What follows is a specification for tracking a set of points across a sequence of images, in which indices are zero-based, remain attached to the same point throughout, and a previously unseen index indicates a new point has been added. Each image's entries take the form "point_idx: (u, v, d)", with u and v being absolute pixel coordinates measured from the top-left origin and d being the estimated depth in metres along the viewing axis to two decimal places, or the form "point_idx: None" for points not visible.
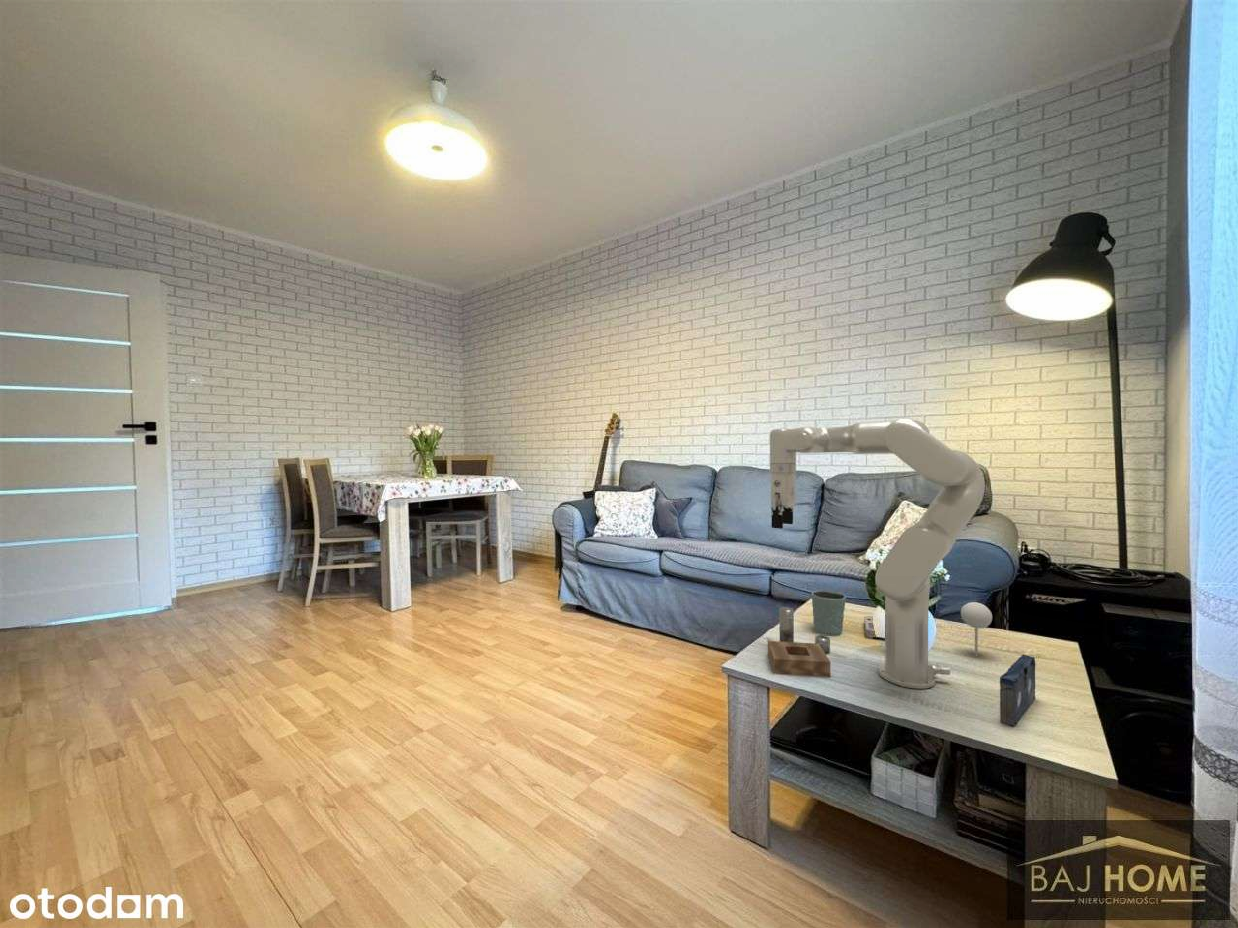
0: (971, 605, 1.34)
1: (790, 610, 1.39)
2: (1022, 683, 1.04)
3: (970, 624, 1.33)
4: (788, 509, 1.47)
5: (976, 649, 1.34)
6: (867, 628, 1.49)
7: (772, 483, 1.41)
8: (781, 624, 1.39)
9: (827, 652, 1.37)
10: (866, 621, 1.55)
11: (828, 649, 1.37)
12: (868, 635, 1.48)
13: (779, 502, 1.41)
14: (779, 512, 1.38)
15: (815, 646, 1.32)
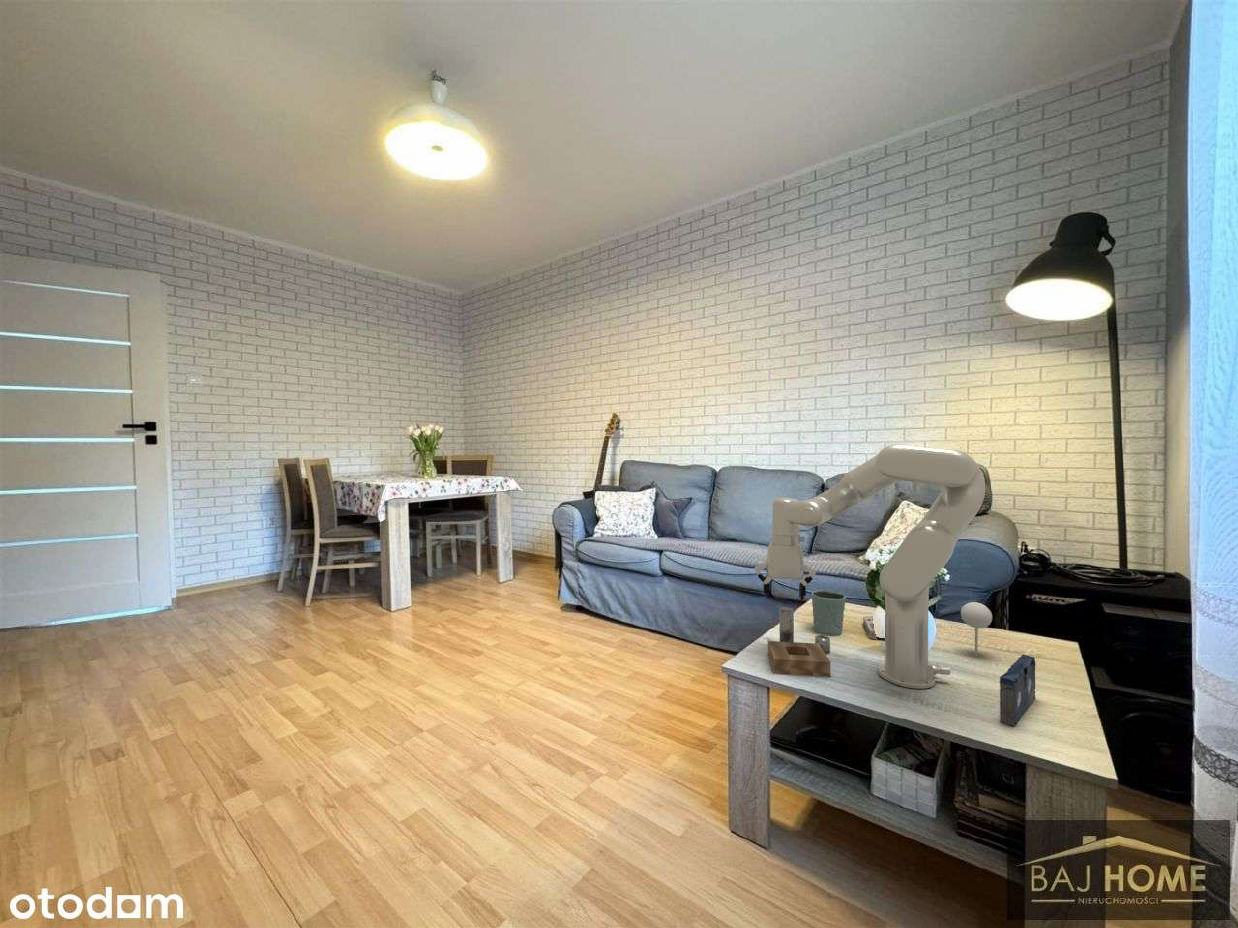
0: (971, 605, 1.34)
1: (790, 610, 1.39)
2: (1022, 683, 1.04)
3: (970, 624, 1.33)
4: None
5: (976, 649, 1.34)
6: (870, 629, 1.48)
7: (802, 555, 1.38)
8: (781, 624, 1.39)
9: (827, 652, 1.37)
10: (867, 622, 1.54)
11: (828, 649, 1.37)
12: (872, 636, 1.47)
13: None
14: None
15: (815, 646, 1.32)
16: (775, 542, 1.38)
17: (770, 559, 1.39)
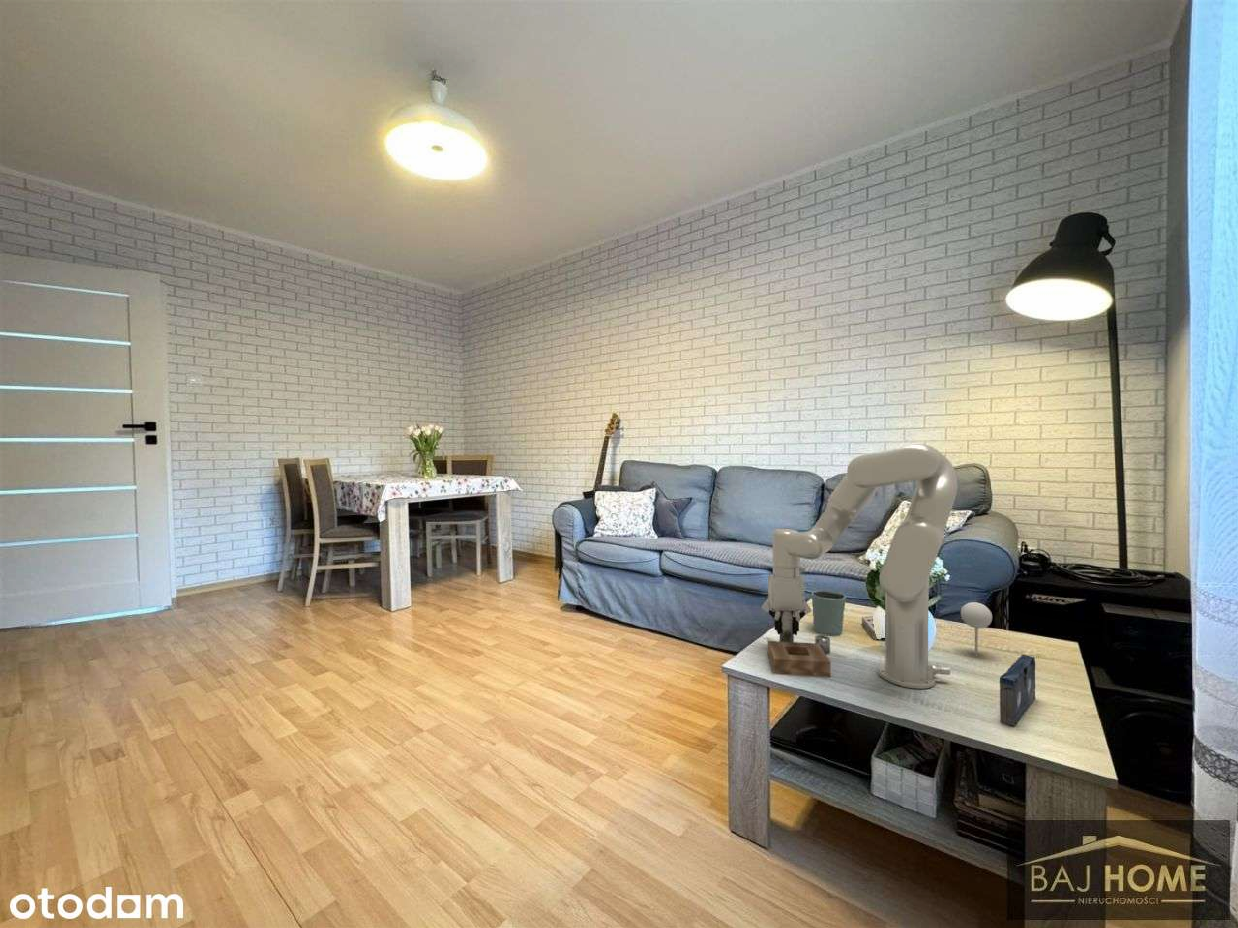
0: (971, 605, 1.34)
1: None
2: (1022, 683, 1.04)
3: (970, 624, 1.33)
4: None
5: (976, 649, 1.34)
6: (874, 630, 1.47)
7: (803, 586, 1.38)
8: (781, 624, 1.39)
9: (827, 652, 1.37)
10: (868, 622, 1.54)
11: (828, 649, 1.37)
12: (876, 637, 1.46)
13: None
14: None
15: (815, 646, 1.32)
16: (776, 574, 1.38)
17: (771, 591, 1.39)
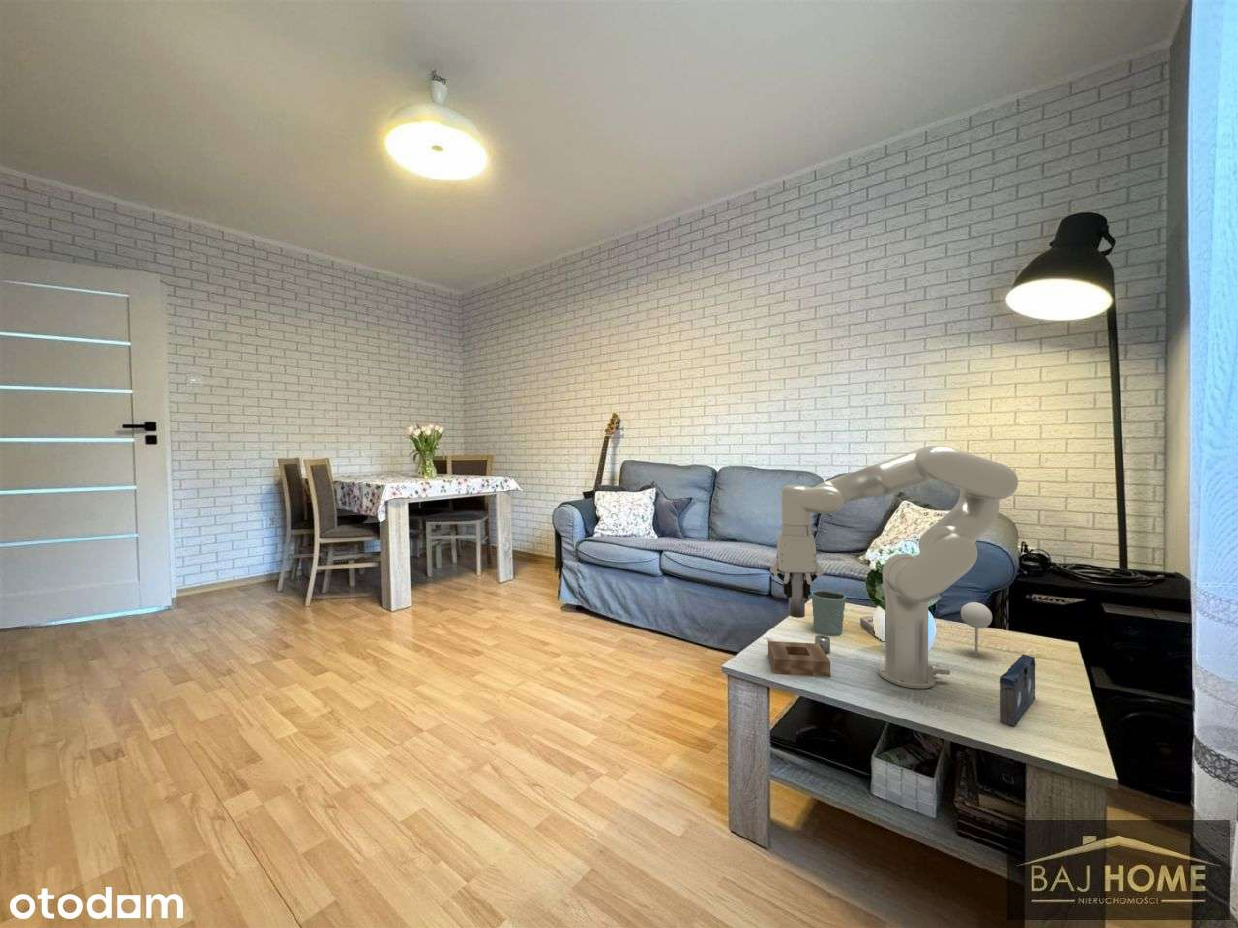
0: (971, 605, 1.34)
1: None
2: (1022, 683, 1.04)
3: (970, 624, 1.33)
4: None
5: (976, 649, 1.34)
6: None
7: (815, 546, 1.27)
8: (791, 587, 1.29)
9: (827, 652, 1.37)
10: (870, 623, 1.53)
11: (828, 649, 1.37)
12: None
13: None
14: None
15: (815, 646, 1.32)
16: (785, 533, 1.28)
17: (780, 552, 1.28)
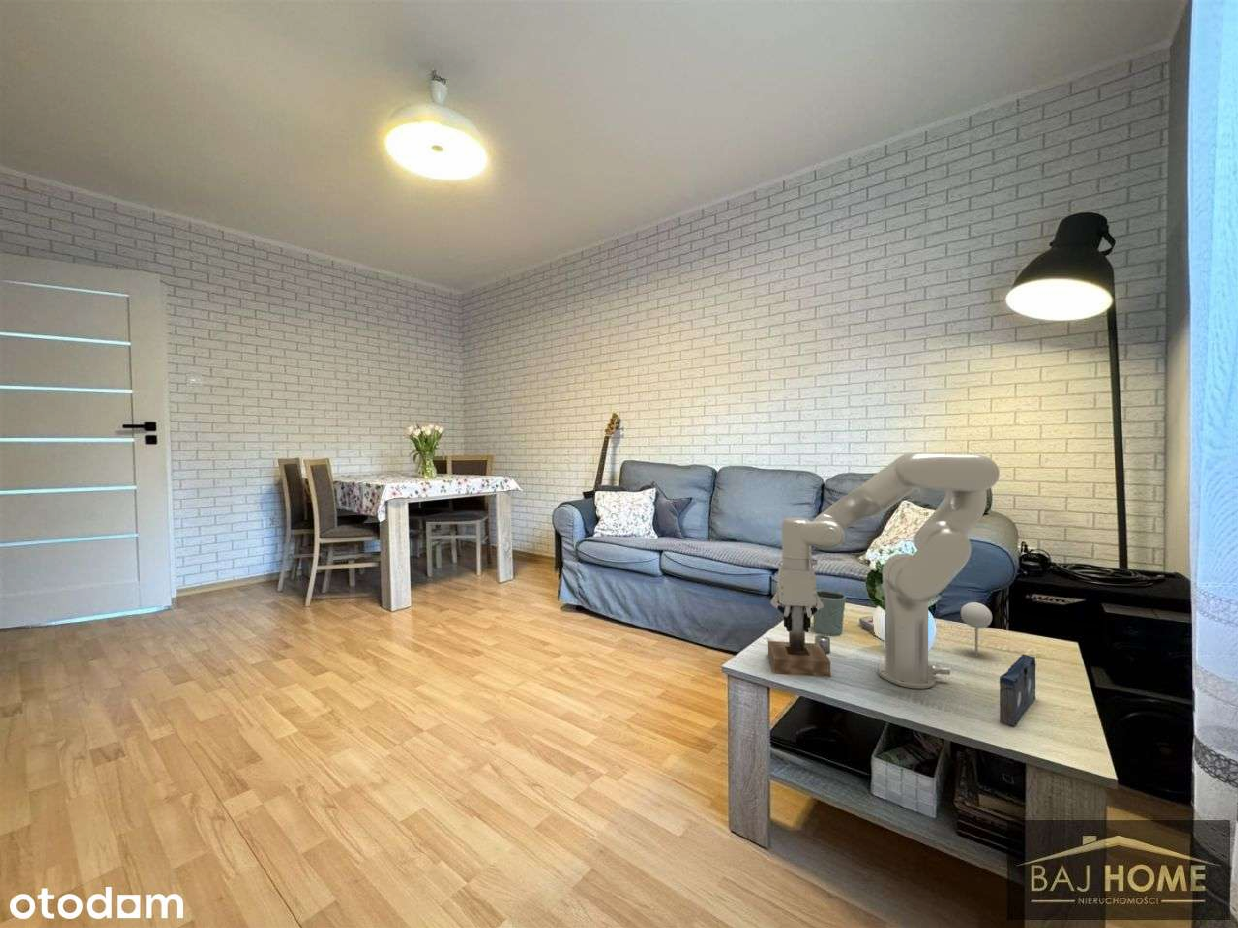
0: (971, 605, 1.34)
1: None
2: (1022, 683, 1.04)
3: (970, 624, 1.33)
4: None
5: (976, 649, 1.34)
6: None
7: (815, 580, 1.27)
8: (791, 620, 1.29)
9: (827, 652, 1.37)
10: (871, 624, 1.52)
11: (828, 649, 1.37)
12: None
13: None
14: None
15: (815, 646, 1.32)
16: (786, 566, 1.28)
17: (781, 585, 1.28)
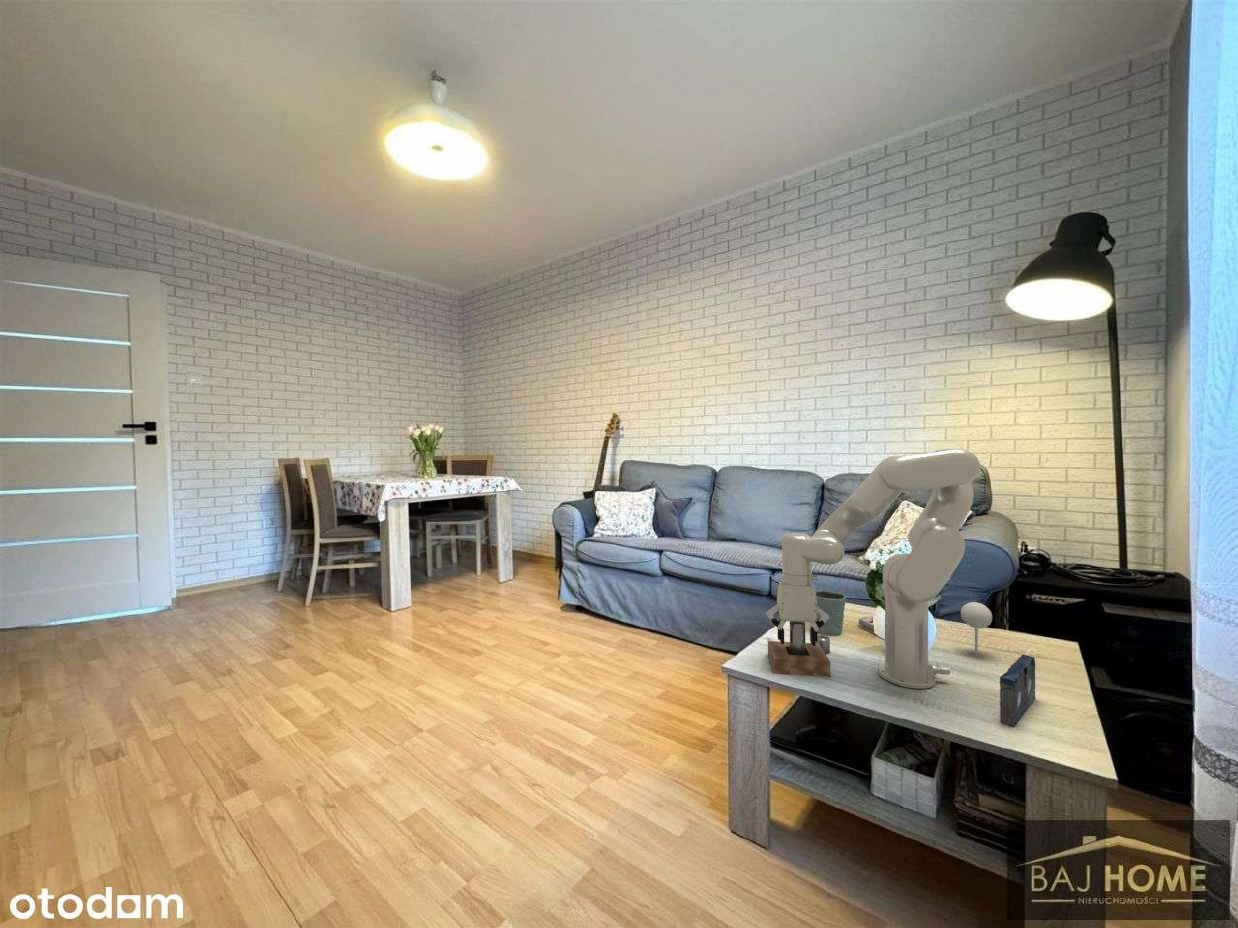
0: (971, 605, 1.34)
1: (801, 623, 1.28)
2: (1022, 683, 1.04)
3: (970, 624, 1.33)
4: None
5: (976, 649, 1.34)
6: None
7: (815, 595, 1.27)
8: (792, 638, 1.29)
9: (827, 652, 1.37)
10: (873, 624, 1.52)
11: (828, 649, 1.37)
12: None
13: None
14: None
15: (815, 646, 1.32)
16: (786, 582, 1.28)
17: (781, 600, 1.28)
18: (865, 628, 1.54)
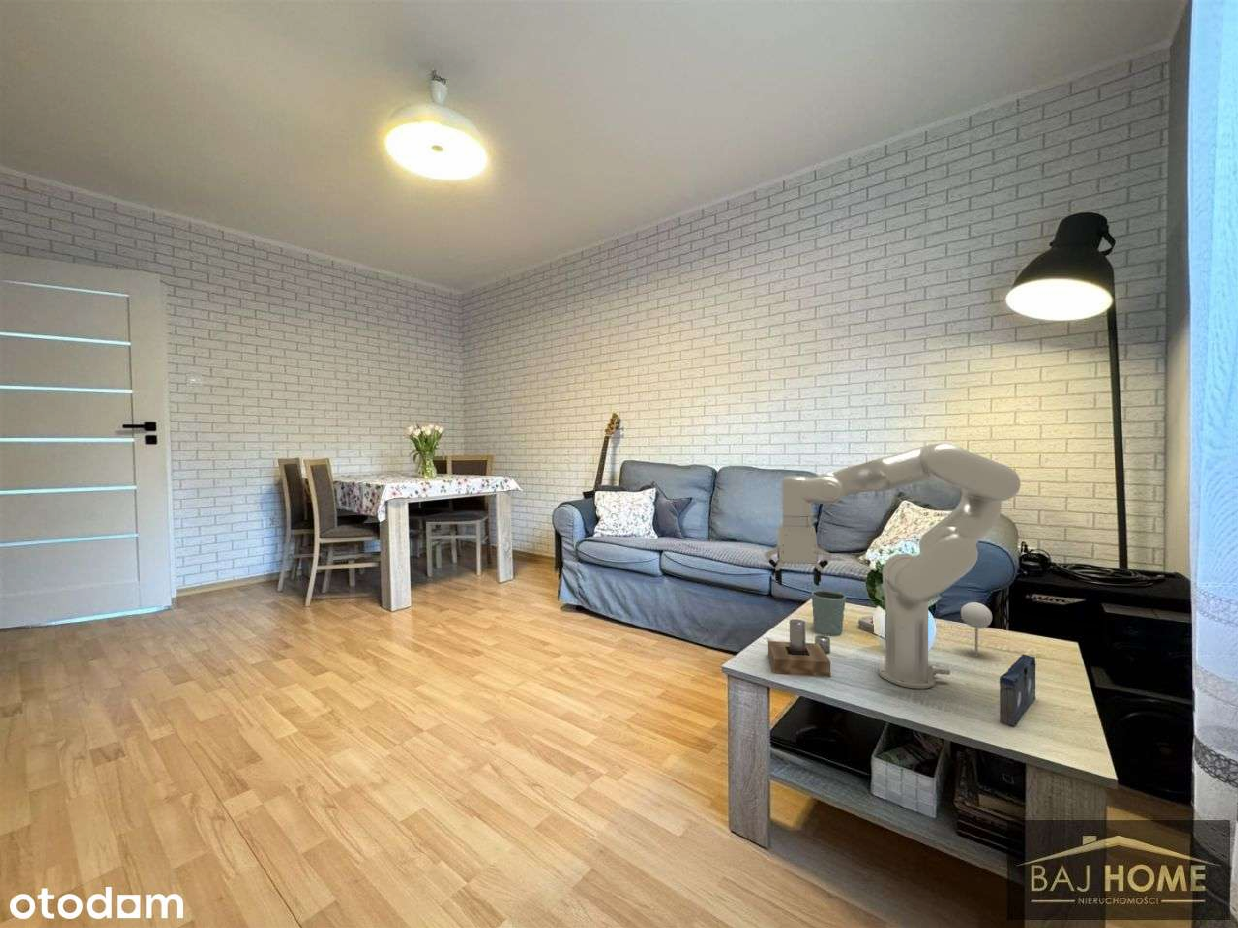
0: (971, 605, 1.34)
1: (801, 623, 1.28)
2: (1022, 683, 1.04)
3: (970, 624, 1.33)
4: None
5: (976, 649, 1.34)
6: None
7: None
8: (792, 638, 1.29)
9: (827, 652, 1.37)
10: None
11: (828, 649, 1.37)
12: None
13: None
14: None
15: (815, 646, 1.32)
16: (786, 524, 1.28)
17: (781, 543, 1.28)
18: (866, 629, 1.54)
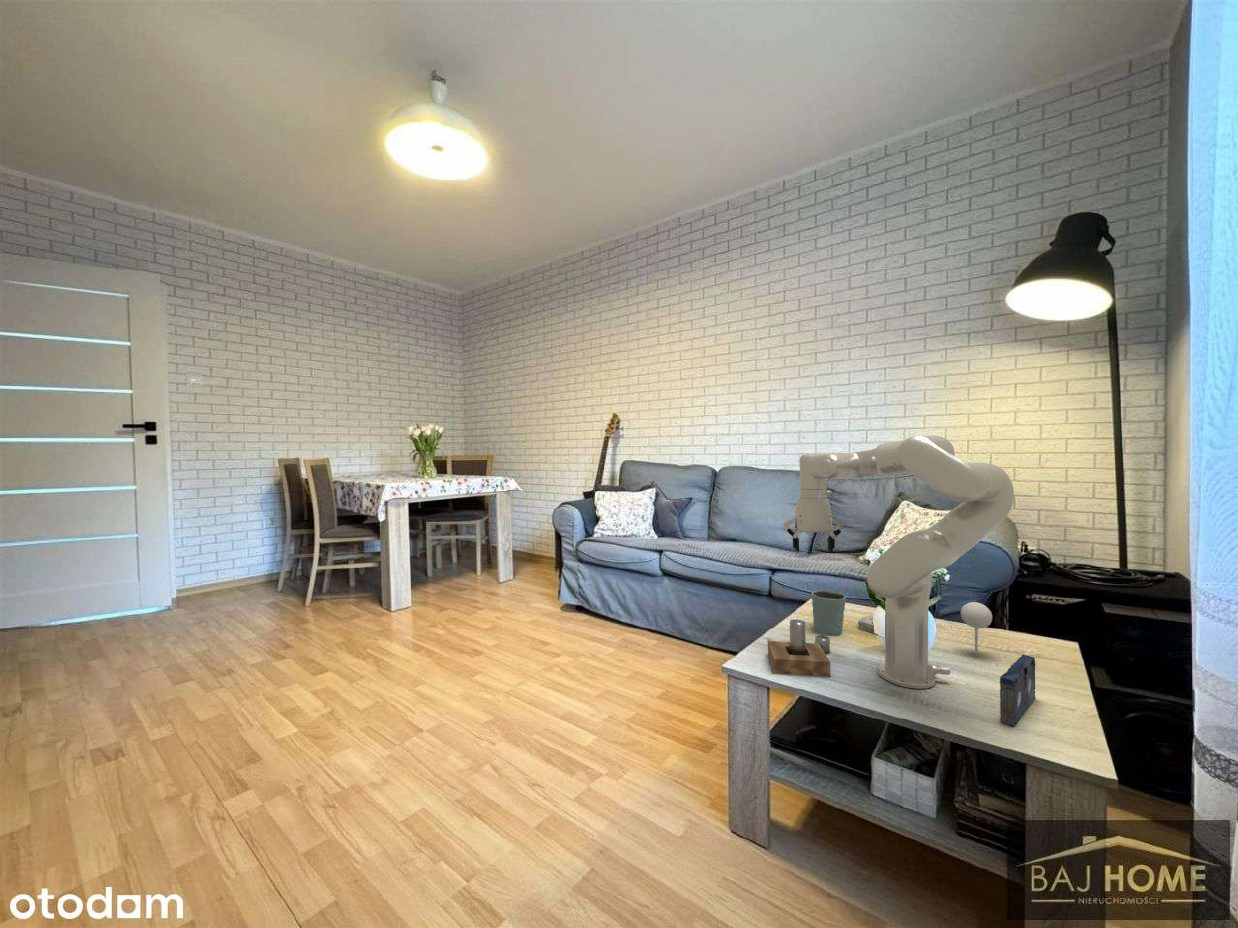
0: (971, 605, 1.34)
1: (802, 623, 1.28)
2: (1022, 683, 1.04)
3: (970, 624, 1.33)
4: None
5: (976, 649, 1.34)
6: None
7: (830, 508, 1.42)
8: (792, 638, 1.29)
9: (827, 652, 1.37)
10: None
11: (828, 649, 1.37)
12: None
13: None
14: None
15: (815, 646, 1.32)
16: (803, 496, 1.42)
17: (799, 513, 1.43)
18: (868, 630, 1.53)
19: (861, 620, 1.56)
